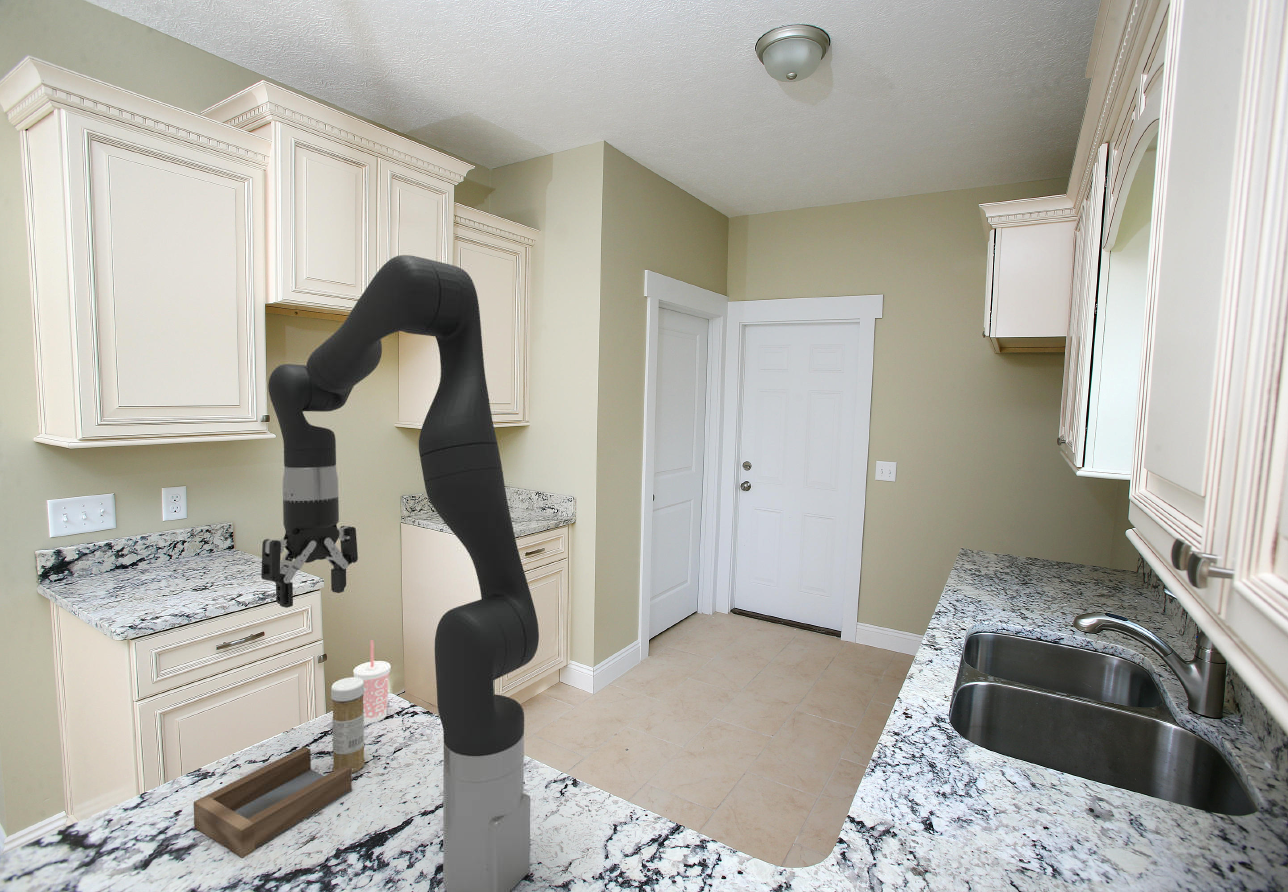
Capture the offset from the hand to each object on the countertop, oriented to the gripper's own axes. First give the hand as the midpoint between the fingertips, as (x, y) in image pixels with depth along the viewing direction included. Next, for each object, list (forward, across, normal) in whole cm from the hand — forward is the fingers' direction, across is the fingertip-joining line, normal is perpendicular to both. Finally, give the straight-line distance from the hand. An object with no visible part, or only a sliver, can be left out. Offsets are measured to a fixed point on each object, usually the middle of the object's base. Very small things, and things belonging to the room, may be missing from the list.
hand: (313, 598), depth 93 cm
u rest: (+26, -9, -6) cm, 28 cm away
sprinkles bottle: (+26, +1, -6) cm, 27 cm away
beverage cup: (+26, +13, +3) cm, 29 cm away
